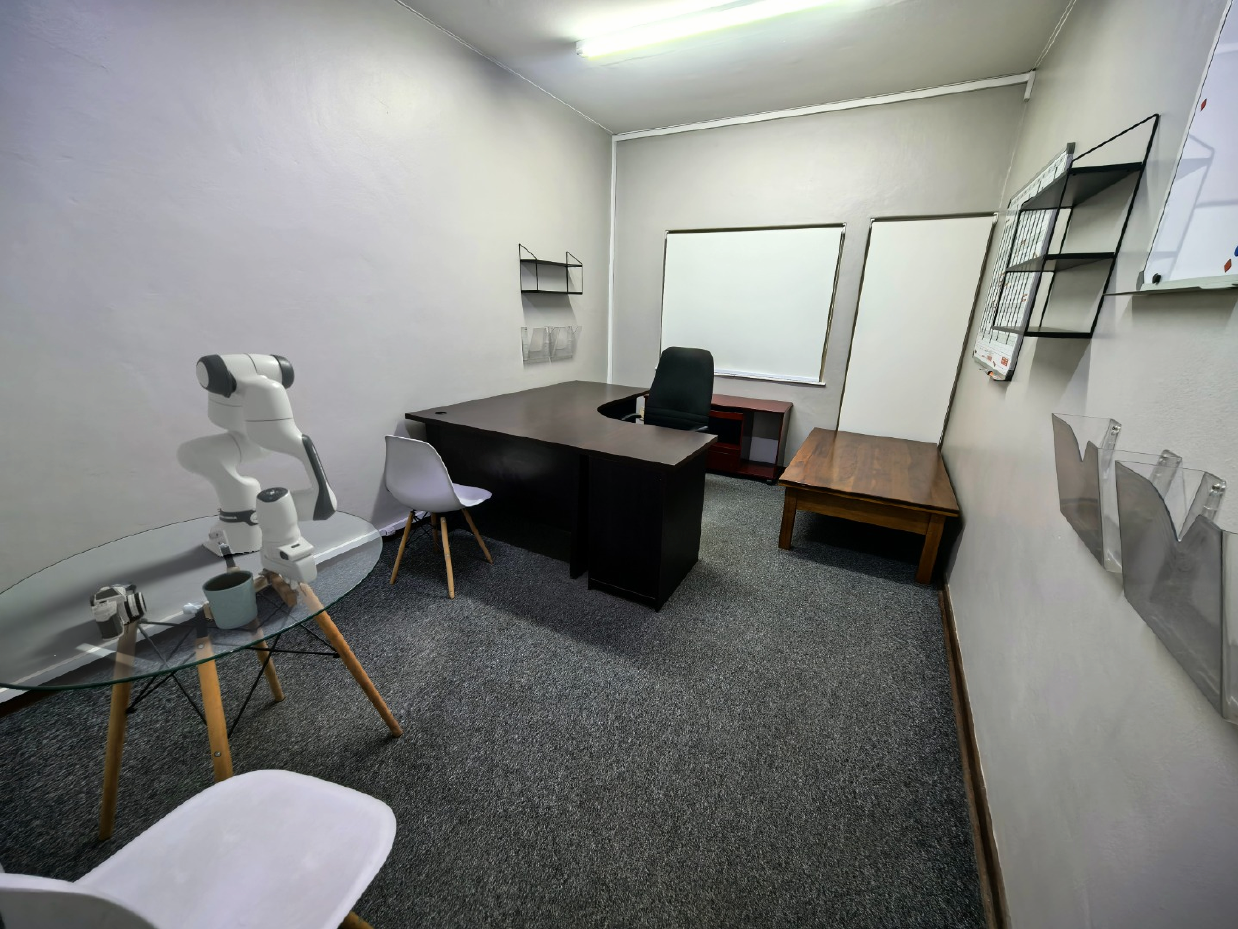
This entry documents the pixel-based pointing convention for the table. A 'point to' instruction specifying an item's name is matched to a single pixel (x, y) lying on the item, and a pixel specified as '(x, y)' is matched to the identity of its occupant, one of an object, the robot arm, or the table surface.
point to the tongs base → (258, 585)
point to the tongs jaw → (283, 589)
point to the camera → (115, 610)
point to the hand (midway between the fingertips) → (292, 587)
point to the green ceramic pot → (231, 598)
